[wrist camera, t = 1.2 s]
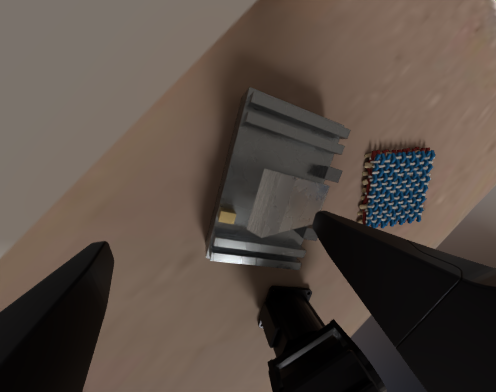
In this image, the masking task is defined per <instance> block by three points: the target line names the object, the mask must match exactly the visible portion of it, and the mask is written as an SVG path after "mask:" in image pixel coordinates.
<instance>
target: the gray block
mask: <svg viewBox="0 0 496 392" xmlns="http://www.w3.org/2000/svg"><path fill="white" fill-rule="evenodd" d="M329 187H330V186H328V185H325V184H321V183H318V182H314V181H310V180H306V179H302V178H298V177H294V176H290V175H287V174H283V173H280V172H276V171H272V170H268V169H264V171H263V175H262V178H261V182H260V185H259V189H258V192H257V195H256V199H255V202H254V206H253V209H252V212H251V216H250V219H249V223H248V226H247V230H249V231H251V232H252V233H254V234H256V235H257V236H259V237H261V238H263V237H267V236H271V235H274V234H278V233H280V232H284V231H288V230H292V229H296V228H300V227H304V226H308V225H312V224H313V220H314V217H315V214H316V213H317V212H318V211H321V209H322V206H323V203H324V201H325V198H326V195H327V192H328V190H329Z"/></svg>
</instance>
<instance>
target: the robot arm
mask: <svg viewBox="0 0 496 392" xmlns="http://www.w3.org/2000/svg"><path fill="white" fill-rule="evenodd" d="M312 228H313V230H314V232H315V233H316V235H317V237H318V238H319V240H320V242H321V243H322V245H323V247H324V248H325V250H326V252H327V253H328V255H329V256H330V258H331V259H332V260H333V262H334V263H335V265H336V266H337V267H338V269H339V270H340V271H341V273H342V274H343V276H344V277H345V278H346V280H347V281H348V283H349V284H350V285H351V287H352V288H353V289H354V291H355V292H356V294H357V295H358V296H359V298H360V299H361V301H362V302H363V303H364V305H365V306H366V307H367V309H368V310H369V312H370V313H371V314H372V316H373V317H374V319H375V320H376V321H377V322H378V324H379V325H380V327H381V328H382V330H383V331H384V332H385V334H386V335H387V336H388V338H389V339H390V341H391V342H392V343H393V345H394V346H395V347H396V349H397V351H398V352H399V353H400V355H401V356H402V358H403V359H404V360H405V362H406V363H407V364H408V366H409V367H410V369H411V370H412V371H413V373H414V374H415V376H416V377H417V378H418V380H419V381H420V382H421V384H422V385H423V387H424V388H425V389H426V391H427V392H496V268H493V267H489V266H486V265H483V264H479V263H476V262H473V261H470V260H467V259H464V258H460V257H457V256H454V255H451V254H448V253H445V252H442V251H439V250H435V249H432V248H429V247H427V246H424V245H421V244H418V243H415V242H412V241H409V240H406V239H404V238H401V237H398V236H395V235H392V234H389V233H387V232H384V231H381V230H378V229H375V228H372V227H370V226H367V225H364V224H361V223H358V222H355V221H353V220H350V219H347V218H344V217H341V216H338V215H336V214H333V213H330V212H327V211H318V212H317V213H316V214H315V217H314V220H313V224H312ZM113 267H114V258H113V255H112V252H111V249H110V246H109V244H108V242H106V241H102V242H95V243H91V244H90V245H89V246H87V247H86V248H85V249H83V250H82V251H81V252H79V253H78V254H77V255H75V256H74V257H73V258H71V259H70V260H69V261H67V262H66V263H65V264H63V265H62V266H61V267H59V268H58V269H57V270H55V271H54V272H53V273H51V274H50V275H49V276H47V277H46V278H45V279H43V280H42V281H41V282H40V283H38V284H37V285H36V286H34V287H33V288H32V289H30V290H29V291H28V292H26V293H25V294H24V295H22V296H21V297H20V298H18V299H17V300H16V301H14V302H13V303H12V304H10V305H9V306H8V307H6V308H5V309H4V310H2V311H1V312H0V392H82V391H83V387H84V384H85V381H86V377H87V374H88V370H89V367H90V363H91V360H92V357H93V353H94V350H95V346H96V343H97V340H98V336H99V333H100V329H101V326H102V322H103V319H104V316H105V312H106V308H107V303H108V298H109V291H110V285H111V279H112V273H113ZM311 295H312V291H311V290H310V289H309V288H295V287H282V286H272V287H270V289H269V292H268V295H267V298H266V301H265V302H264V305H263V308H262V311H261V314H260V319H259V322H258V325H259V327H260V328H263V329H264V332H265V335H266V338H267V341H268V344H269V346H270V348H273V349H274V352H275V355H276V358H275V359H273V360H272V359H271V360H270V361H268V367H269V377H270V381H271V386H272V391H273V392H386V391H387V390H386V388H385V385H384V383H383V382H382V380H381V378H380V377H379V375H378V374H377V372H376V371H375V369H374V368H373V366H372V365H371V363H370V362H369V361H368V359H367V358H366V357H365V355H364V354H363V353H362V351H361V350H360V349H359V348H358V346H357V345H356V344H355V343H354V342H353V341H352V340H351V338H350V337H349V336H348V335H347V334H346V333H345V332H344V330H343V329H342V328H341V327H340V326H339V325H338V324H337V322H336V321H335V320H334V319H333V320H331V321H330V323H329V324H327V325H326V326H325V325H324V323H323V322H322V320H321V319H320V317H319V316H318V314H317V313H316V312H315V310H314V309H313V307H312V306H311V304H310V303H309V300H310V297H311Z"/></svg>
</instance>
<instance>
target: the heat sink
mask: <svg viewBox="0 0 496 392" xmlns="http://www.w3.org/2000/svg"><path fill="white" fill-rule="evenodd" d="M349 133H350V130H349V129H347V128H344V125H342V124H339V123H337V122H334V121H332V120H329V119H327V118H324V117H322V116H320V115H317V114H315V113H312V112H310V111H307V110H305V109H302V108H300V107H298V106H295V105H293V104H290V103H288V102H285V101H283V100H280V99H278V98H276V97H273V96H271V95H268V94H266V93H263V92H261V91H258V90H256V89H254V88H251V87H249V88H248V90H247V91H246V92H245V93H244V95H243V96H242V99H241V103H240V107H239V111H238V115H237V119H236V123H235V127H234V131H233V135H232V139H231V143H230V147H229V151H228V155H227V159H226V163H225V167H224V171H223V175H222V179H221V183H220V187H219V191H218V195H217V199H216V203H215V207H214V211H213V215H212V219H211V223H210V227H209V231H208V235H207V239H206V243H205V245H206V258H210V261H219V262H228V263H238V264H247V265H256V266H266V267H275V268H284V269H293V270H299V269H300V266H301V264H302V263H301V262H300V261H299V260H298V259H297V257H302V258H304V256H305V253H306V250H305V249H304V248H303V247H302V246H301V245H302V242H303V239H308V240H314V241H316V240H317V238H318V237H317V235H316V233H315V232H314V230H313V228H312V225H308V226H304V227H300V228H296V229H292V230H288V231H284V232H280V233H278V234H274V235H271V236H267V237H263V238H261V237H259V236H257V235H256V234H254V233H252V232H251V231H249V230H247V226H248V223H249V219H250V216H251V212H252V209H253V206H254V202H255V199H256V195H257V192H258V189H259V185H260V182H261V178H262V175H263V171H264V169H268V170H272V171H276V172H280V173H283V174H287V175H290V176H294V177H298V178H302V179H306V180H310V181H314V182H318V183H321V184H324V181H325V180H329V181H333V182H337V183H338V182H339V179H340V176H341V174H342V170H339V169H335V168H332V167H330V164H331V161H332V159H333V156H334V154H338V155H342V152H343V149H344V147H345V146H343V145H340V144H338V142H339V139H347V138H348V136H349Z"/></svg>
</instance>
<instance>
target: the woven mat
mask: <svg viewBox="0 0 496 392" xmlns="http://www.w3.org/2000/svg"><path fill="white" fill-rule="evenodd" d="M418 149H419V147H415V148H414V149H412V150H411V151H410V148H407V149H401V150H402V151H401V150H397V152H396V150H392V152H389V150H388V149H386V150H384V151H382V153H380V150H377V151H372V153H370V154H365V157H364V158H369V161H368V162H367V163H365V168H367V171H365V172H362V176H368V179H364V180H363V181H362V183H363V184H364V185H366V184H367V188H362V192H365V193H364V194H366V195H365V196H361V200H364V201H363V203H362V205H360V209H362V211H360V212H358V213H357V215H363V219H360V220H359V221H357V222H358V223H361V224H364V225H367V226H369V225H370V224H371V225H370V226H371V227H372V228H377V227H378V226H380V225H381V228H384V227H385V226H387V224H388V222H389V221H390V226H391V227H392V226H394V224H396V223H397V221H398V222H399V224H400V225H403V223H405V222H406V219H407V221H408V223H412V221H414V219H415V218H416V217H417V220H416V221H417V222H420V221H421V216H420V215H422V211H424V209H423V208H422V207H423V205H421V204H422V203H423V202H424V201H425V200H427V198H425V196H426V193H425V192H426V191H427V190H428V187H427V185H428V183H429V182H428V181H429V180H431V178H430V177H429V175H430V173H429V172H430V170H431V169H432V168H434V166H432V164H431V163H433V161H432V160H433V159H435V153H434V150H431V151H430V148H426V149H425V148H421V149H420V150H418ZM429 156H430V157H429ZM374 159H375V160H374ZM427 165H428V166H427ZM426 166H427V167H426ZM383 167H384V169H383ZM371 168H374V169H373V170H372V169H371ZM425 169H427V170H425ZM428 173H429V174H428ZM372 175H373V176H372ZM381 177H383V178H381ZM372 178H373V179H372ZM380 190H381V191H380ZM373 194H375V195H373ZM420 197H421V198H420ZM369 199H370V200H369ZM368 201H369V202H370V203H367V202H368ZM382 206H383V207H382ZM407 211H408V212H407ZM380 223H381V224H380Z"/></svg>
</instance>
